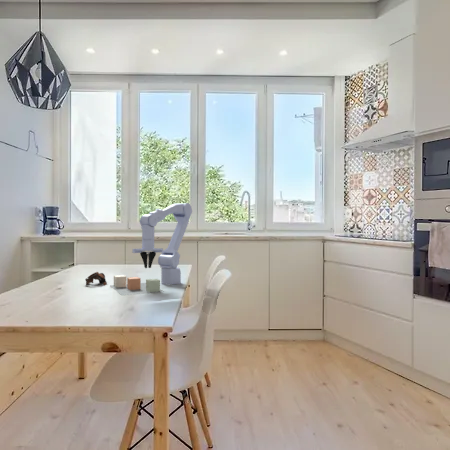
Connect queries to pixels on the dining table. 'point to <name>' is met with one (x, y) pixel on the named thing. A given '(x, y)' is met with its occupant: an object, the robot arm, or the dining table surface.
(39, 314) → the dining table surface
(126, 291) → the board
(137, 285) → the terracotta cube
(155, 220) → the robot arm
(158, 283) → the sage cube
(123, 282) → the cream cube
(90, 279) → the dark brown arched piece
